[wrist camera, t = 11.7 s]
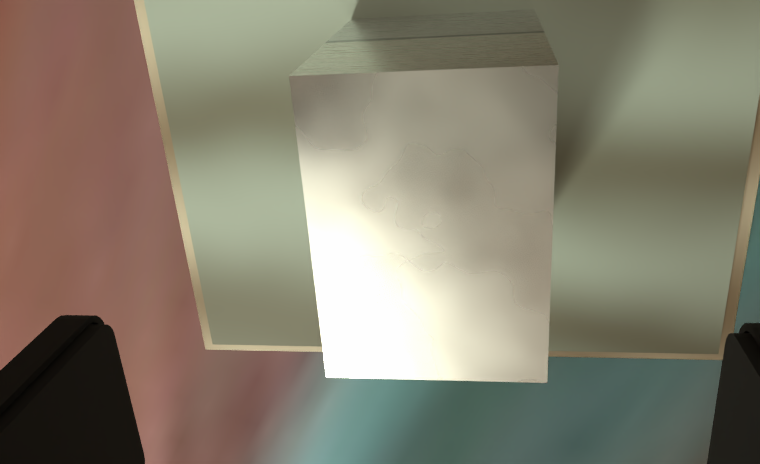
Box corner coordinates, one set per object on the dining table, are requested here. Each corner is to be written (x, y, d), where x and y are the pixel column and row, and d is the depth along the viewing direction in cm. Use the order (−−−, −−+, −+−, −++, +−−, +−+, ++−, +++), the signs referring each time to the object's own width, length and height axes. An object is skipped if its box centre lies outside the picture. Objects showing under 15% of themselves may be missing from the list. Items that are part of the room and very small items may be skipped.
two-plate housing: (534, 9, 19) (558, 64, 13) (529, 243, 22) (546, 382, 16) (351, 19, 20) (288, 75, 13) (370, 244, 23) (326, 377, 16)
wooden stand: (699, 303, 26) (732, 367, 23) (236, 299, 29) (201, 355, 26) (768, -193, 20) (831, -213, 16) (158, -139, 22) (96, -146, 19)
